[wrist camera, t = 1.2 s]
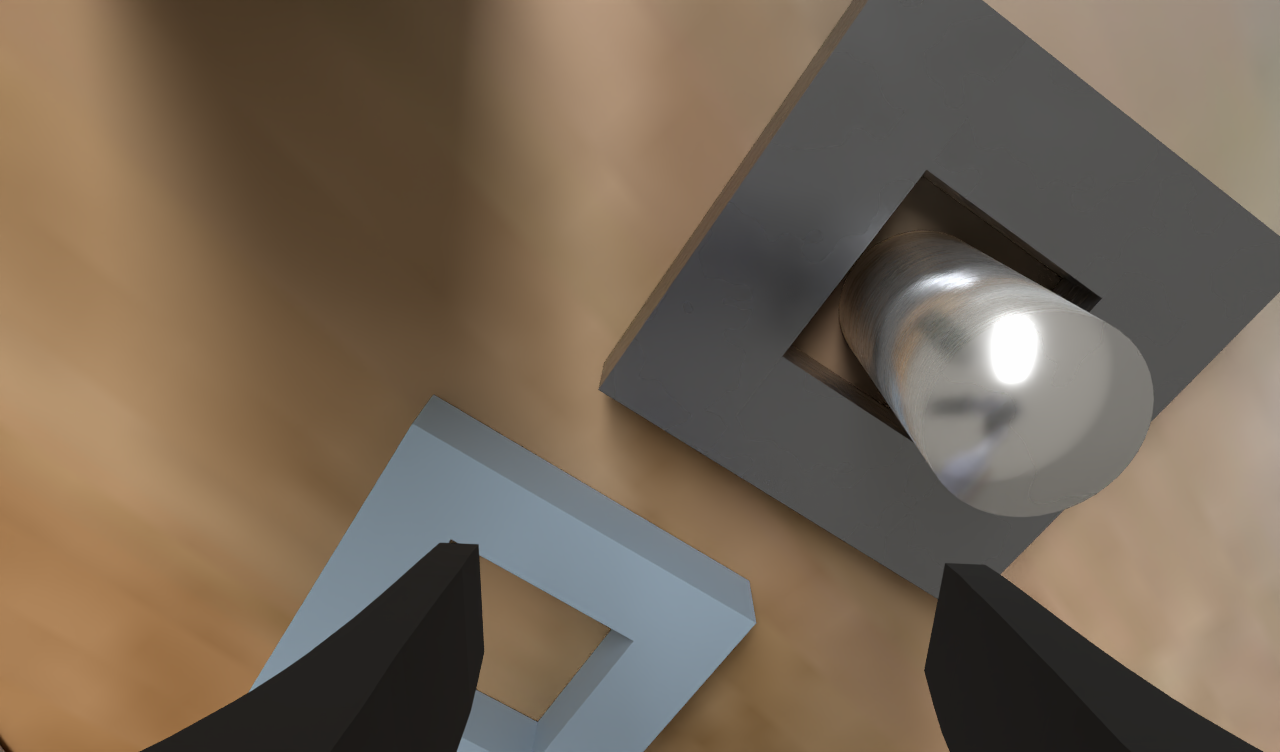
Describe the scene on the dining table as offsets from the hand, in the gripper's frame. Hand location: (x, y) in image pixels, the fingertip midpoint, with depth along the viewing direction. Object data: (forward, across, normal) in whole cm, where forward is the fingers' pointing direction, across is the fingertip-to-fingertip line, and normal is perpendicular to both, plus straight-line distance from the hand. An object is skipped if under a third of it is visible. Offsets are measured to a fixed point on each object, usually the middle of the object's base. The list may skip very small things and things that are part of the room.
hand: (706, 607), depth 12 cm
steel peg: (+10, -6, -2) cm, 12 cm away
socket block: (+10, -6, -2) cm, 12 cm away
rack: (+10, +5, +8) cm, 14 cm away
